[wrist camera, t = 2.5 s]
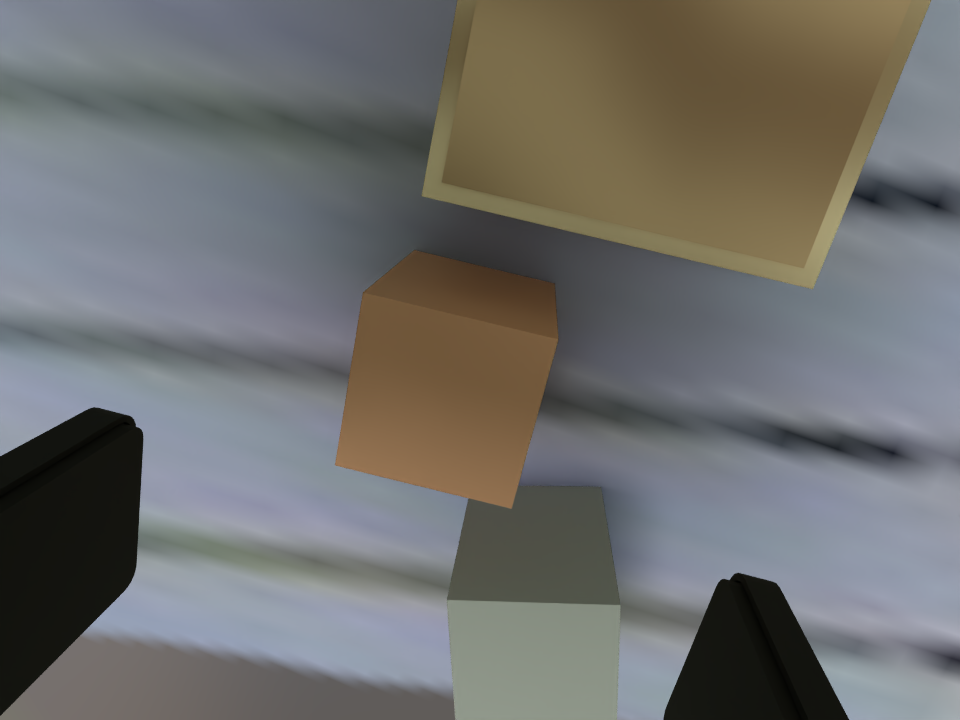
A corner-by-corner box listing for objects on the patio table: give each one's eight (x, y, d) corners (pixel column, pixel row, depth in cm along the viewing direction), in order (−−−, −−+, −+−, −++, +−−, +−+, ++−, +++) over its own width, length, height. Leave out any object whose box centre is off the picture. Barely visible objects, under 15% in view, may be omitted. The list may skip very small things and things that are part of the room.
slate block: (471, 484, 22) (446, 600, 17) (600, 486, 22) (620, 605, 16) (477, 590, 24) (456, 730, 18) (598, 594, 23) (616, 738, 18)
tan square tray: (523, -178, 16) (514, -315, 11) (874, -99, 16) (1017, -204, 11) (451, 183, 19) (420, 196, 14) (745, 252, 19) (814, 290, 14)
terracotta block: (414, 249, 20) (363, 292, 14) (554, 283, 20) (558, 339, 14) (390, 380, 21) (335, 465, 16) (520, 411, 21) (511, 508, 16)
